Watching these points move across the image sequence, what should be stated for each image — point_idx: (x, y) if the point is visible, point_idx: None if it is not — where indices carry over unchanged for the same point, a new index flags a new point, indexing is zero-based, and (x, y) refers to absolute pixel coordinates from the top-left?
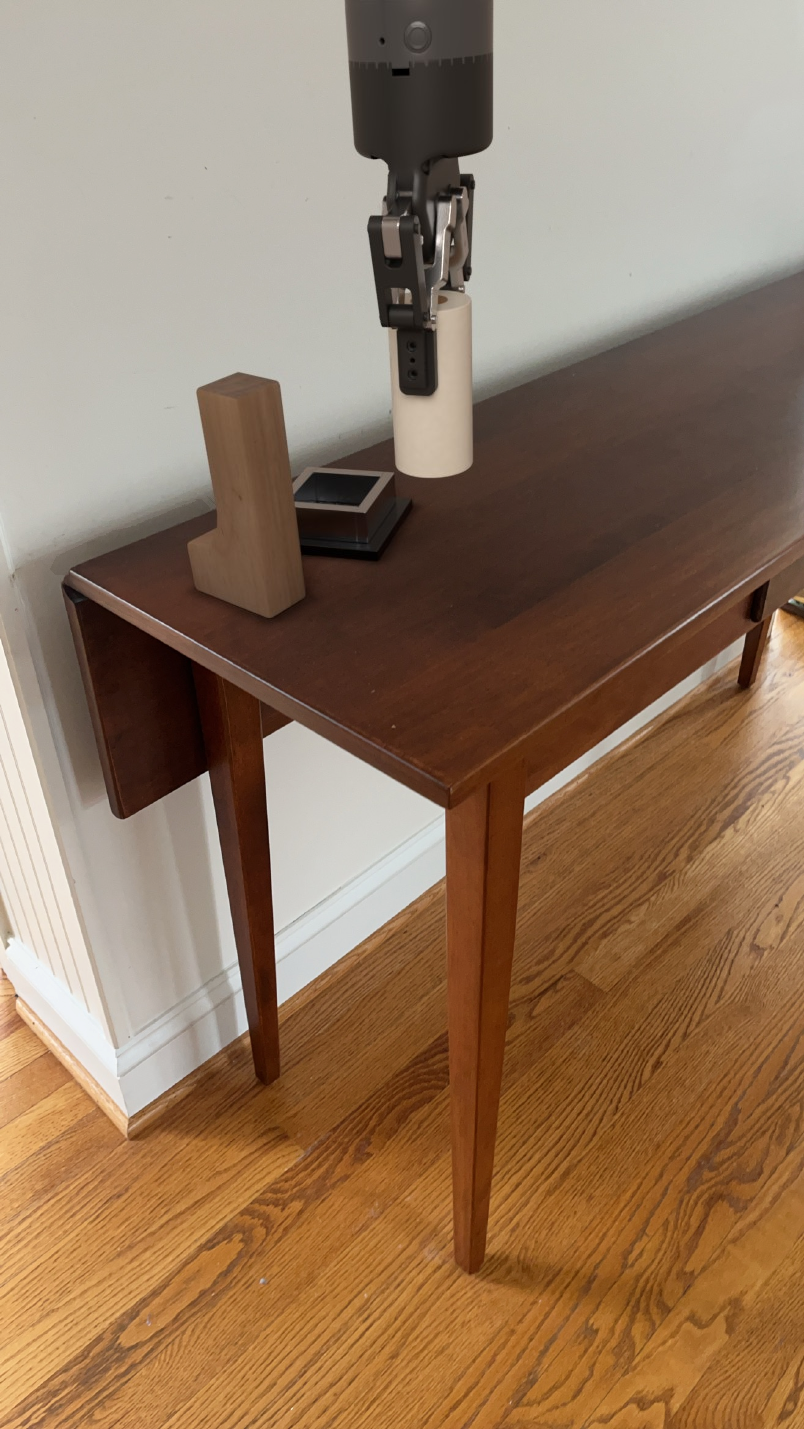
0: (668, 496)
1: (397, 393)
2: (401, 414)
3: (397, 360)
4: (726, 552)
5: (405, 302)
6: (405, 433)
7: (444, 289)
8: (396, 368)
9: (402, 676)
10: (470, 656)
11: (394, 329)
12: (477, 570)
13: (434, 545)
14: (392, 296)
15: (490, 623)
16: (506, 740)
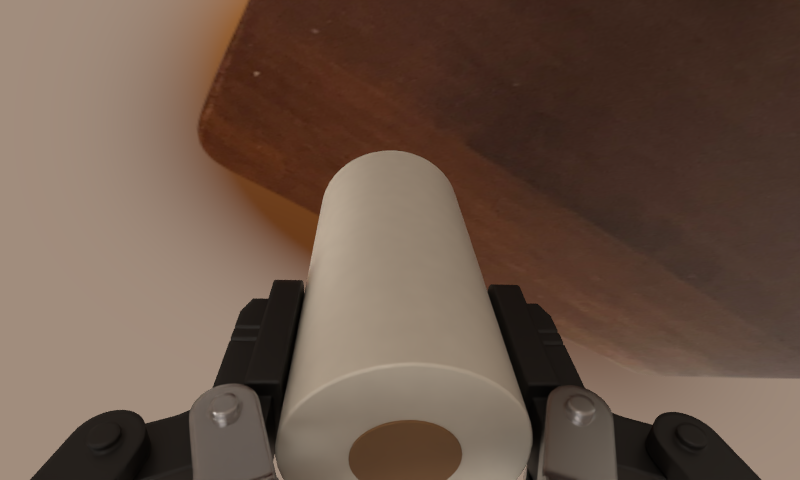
0: (762, 282)
1: (326, 248)
2: (323, 232)
3: (314, 300)
4: (621, 332)
5: (377, 414)
6: (322, 220)
7: (535, 464)
8: (320, 283)
9: (352, 59)
10: (406, 128)
11: (220, 389)
12: (606, 100)
13: (688, 24)
14: (193, 476)
15: (477, 137)
16: (268, 187)
